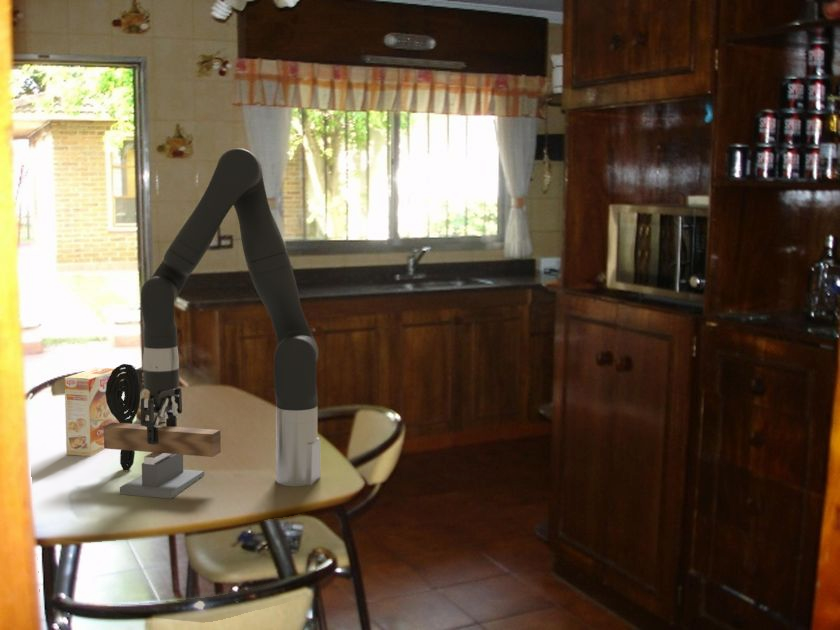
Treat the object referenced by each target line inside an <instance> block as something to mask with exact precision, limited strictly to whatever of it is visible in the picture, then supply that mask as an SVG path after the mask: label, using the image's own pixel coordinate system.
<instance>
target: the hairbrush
mask: <svg viewBox="0 0 840 630" xmlns="http://www.w3.org/2000/svg"><path fill="white" fill-rule="evenodd" d="M113 369H114V370H113V371H112V373H111V375H110V377H109V379H108V381H107V385H106V393H105V394H106V401H107V405H108V407H109V409H110V411H111V413H112V414H113V415H114V417H115V418H116V419H117V420H118V421H119V423H129V424H134V423H133V422H134V419H135V420H136V414H138V413H137V412H138V407H139V403H140V401H141V400H140V389H141V388H140V380H139V376H140V375H138V370H136V369H137V368H136V366H133V365H132V364H128V363H122V364H120V365H118V366H117V367H115V368H113ZM120 369H121V370H120ZM122 372H125V373H122ZM119 374H120V375H119ZM118 375H119V376H118ZM117 376H118V377H117ZM121 380H122V381H121ZM141 386H142V385H141ZM141 396H142V394H141ZM141 399H142V398H141ZM135 454H136V451H130V450H120V456H119V463H120V464H119V465H120V466H121V469H122V470H123V471H126V470H128V471H129V470H130V469H131V468H132V466H133V464H134V461H135Z"/></svg>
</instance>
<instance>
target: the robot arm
mask: <svg viewBox="0 0 840 630" xmlns="http://www.w3.org/2000/svg"><path fill="white" fill-rule="evenodd" d="M262 169H263V168H262V165H261V163H260V161H259V159H258V158H257V157H256V155H255V154H253V153H252V152H251V151H249V150H247V149H244V148H242V147H241V148H239V147H236V148H231V149H229V150H227V151H225V152H224V153H222V155H220V158H219V159H218V162H217V164H216V166H215V169H214V171H213V174H212V177H211V178H210V181H209V184H208V185H207V187H206V190H205V191H204V193H203V195H202V197H201V199H200V200H199V202H198V204H197V206H195V208H194V210H193V212H192V213H191V215H190V216H189V217H188V219H187V220H186V221H185V223H184V224H183V225H182V227H181V229H180V230H179V232H178V233H177V235H176V236H175V237H174V239H173V241H172V242H171V244H170V245H169V247H168V248H167V250H166V252H165V254H164V256H163V260H162V261H161V263H160V264H159V266H158V267H157V269H156V270H155V272H154V273H153V275H152V276H150V278H149V279H147V280H146V281H145V282H144V283H143V285H142V287H141V292H140V305H141V312H142V318H143V326H144V327H143V354H142V356H143V357H142V364H143V366H142V367H143V376H144V388H145V389H146V390H149V392H150V394H149V398H148V399H147V398H142V399H141V422H140V424H141V426H145V427H147V442H148V444H154V445H155V444H157V443H158V426H159V420H160V419H161V418H162V417H163V414H164V413H165V415H166V417H168V418H167V419H166V423H165V426H171V427H178V418H179V414H182V413H183V400H182V399H183V397H182V396H183V395H182V388H181V387H179V386H180V358H179V357H180V356H179V351H178V349H179V348H178V328H177V323H176V321H175V301H176V299H177V298H178V296H180V293H181V291H182V290H183V288H184V286H185V285H186V282H187V281H188V278H189V277H190V275H191V274H192V273H193V271H195V269H196V268H197V267H198V265H199V263H200V262H201V260H202V258H203V257H204V256H205V254H206V253H207V251H208V249H209V248H210V246H211V244H212V242H213V240H214V238H215V237H216V235H217V232H218V230H219V229H220V226H221V225H222V223H223V221H224V219H225V217H226V216H227V214H229V211H230V210H231V209H232V207H233V208H234V209H235V212H236V215H237V220H238V223H239V232H240V239H241V244H242V251H243V255H244V256H243V257H244V259H245V262H246V266H247V269H248V272H249V276H250V278H251V281H252V284H253V287H254V288H255V290H256V293H257V294H258V296H259V299H260V300H261V302H262V304H263V305H264V307H265V309H266V312H267V313H268V315H269V317H270V320H271V323H272V327H273V331H274V334H275V335H274V336H275V340H276V345H277V346H276V348H275V351H274V353H273V354H274V356H273V384H274V385H273V387H274V388H273V389H274V390H273V392H274V396H275V481H276V483H277V484H278V485H281V486H284V487H285V486H286V487H302V486H303V487H304V486H313V484H315V483H316V481H318V480H319V479H320V478H321V438H320V437H318V404H319V403H318V390H317V389H318V388H317V362H318V359H319V347H318V344H317V342H316V340H315V337H314V336H313V333H312V331H311V328H310V325H309V324H308V321H307V319H306V317H305V313H304V312H303V307H302V304H301V300H300V296H299V289H298V285H297V281H296V277H295V274H294V271H293V266H292V262H291V260H290V256H289V253H288V250H287V247H286V244H285V242H284V239H283V236H282V234H281V232H280V229H279V227H278V224H277V222H276V220H275V218H274V216H273V213H272V210H271V207H270V204H269V200H268V197H267V196H268V195H267V192H266V191H267V190H266V188H265V183H264V182H265V181H264V177H263V170H262ZM146 415H147V419H146V420H145V417H146ZM154 418H155V420H154Z"/></svg>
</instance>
